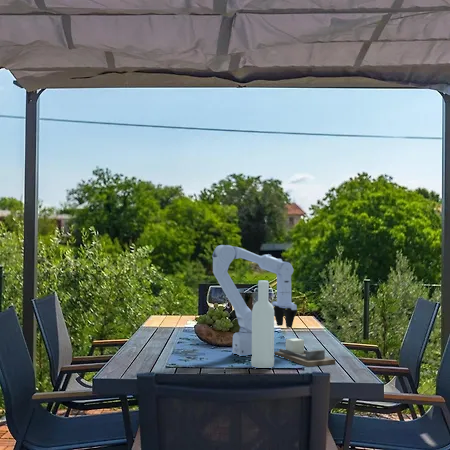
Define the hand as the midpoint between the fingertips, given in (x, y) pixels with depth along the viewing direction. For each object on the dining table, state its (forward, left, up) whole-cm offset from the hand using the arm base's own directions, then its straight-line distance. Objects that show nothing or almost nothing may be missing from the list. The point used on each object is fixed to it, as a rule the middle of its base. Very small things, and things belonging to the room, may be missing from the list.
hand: (284, 326), depth 233 cm
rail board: (0, -14, -10) cm, 17 cm away
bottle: (-21, -19, -11) cm, 31 cm away
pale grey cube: (0, -8, -9) cm, 12 cm away
